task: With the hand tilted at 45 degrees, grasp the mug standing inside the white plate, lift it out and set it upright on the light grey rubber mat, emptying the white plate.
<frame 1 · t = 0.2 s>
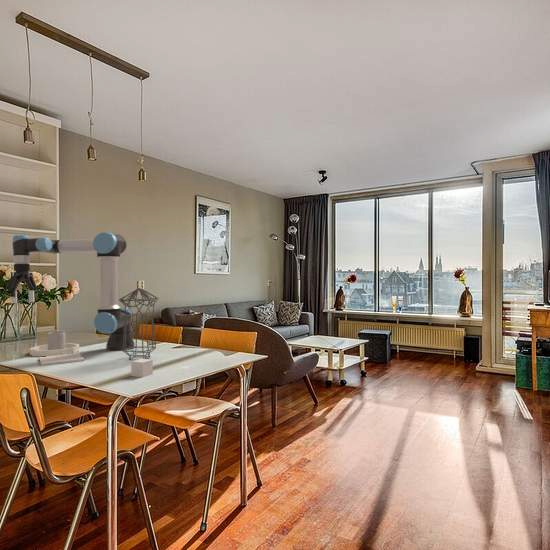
hand: (23, 302, 221), 27 cm above the table, tool pointing down, fingers open, 13 cm apart
geometric lantern: (140, 359, 202), on the table
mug: (55, 352, 221), resting in white plate
white plate: (55, 352, 221), on the table
mat: (61, 360, 200), on the table
pale pink cube: (142, 375, 168), on the table
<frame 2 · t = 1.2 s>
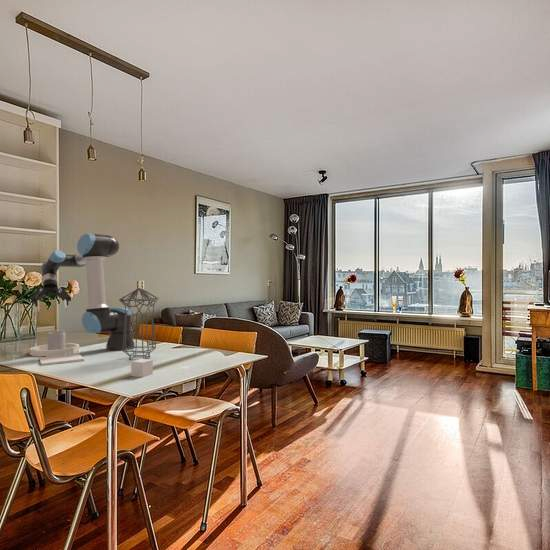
hand: (52, 309, 230), 22 cm above the table, tool tilted 45°, fingers open, 13 cm apart
nothing on the table moved.
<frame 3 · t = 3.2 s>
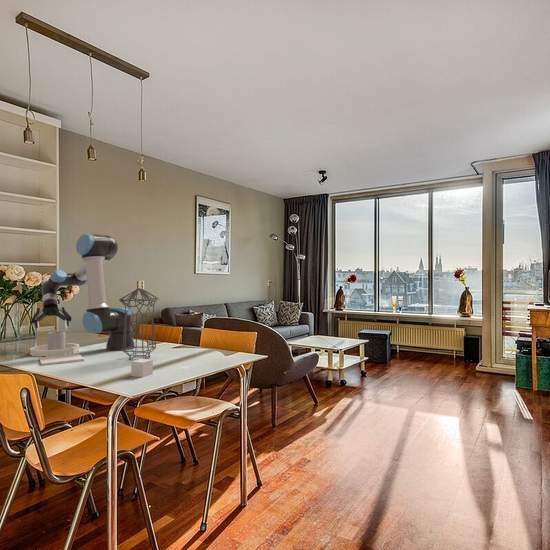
hand: (52, 331, 226), 11 cm above the table, tool tilted 45°, fingers open, 13 cm apart
nothing on the table moved.
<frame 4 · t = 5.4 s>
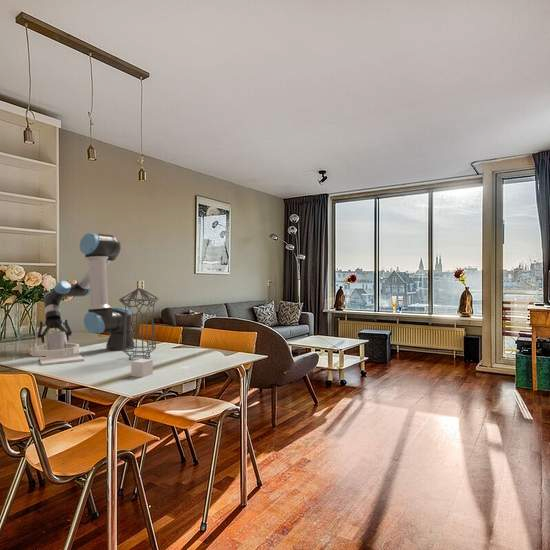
hand: (56, 346, 219), 4 cm above the table, tool tilted 45°, fingers open, 9 cm apart
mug: (54, 352, 221), resting in white plate, touching gripper
everything else where it was.
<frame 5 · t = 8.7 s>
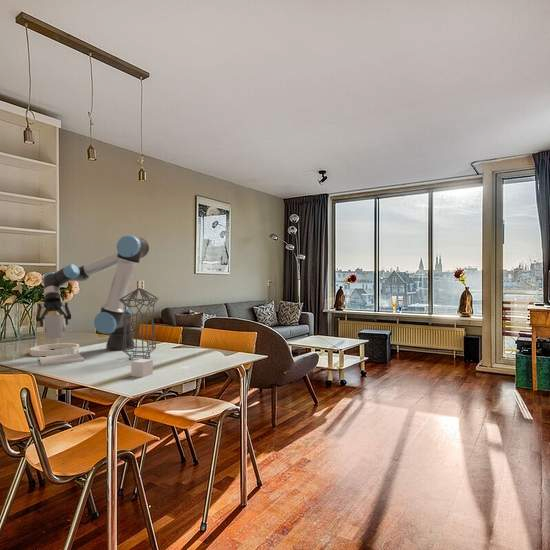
hand: (54, 330, 202), 14 cm above the table, tool tilted 45°, fingers closed on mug, 8 cm apart
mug: (53, 337, 205), point 11 cm above the table, touching gripper
everything else where it was.
when the fingers open (6 cm above the table, at t = 11.7 s): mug drops 1 cm, resting on mat.
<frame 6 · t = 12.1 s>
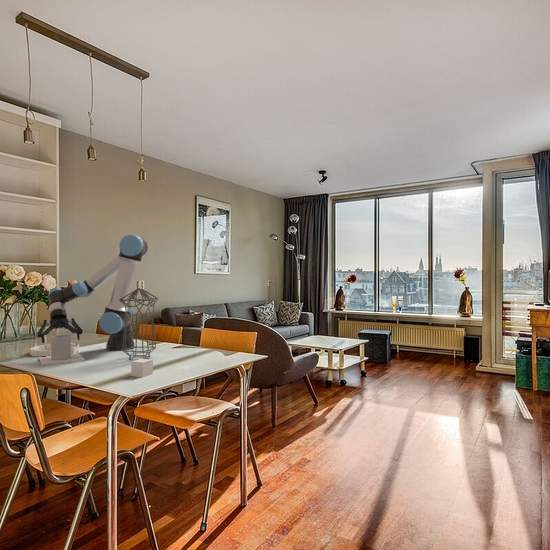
hand: (61, 346, 198), 7 cm above the table, tool tilted 45°, fingers open, 13 cm apart
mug: (59, 358, 199), point 1 cm above the table, touching mat
everything else where it was.
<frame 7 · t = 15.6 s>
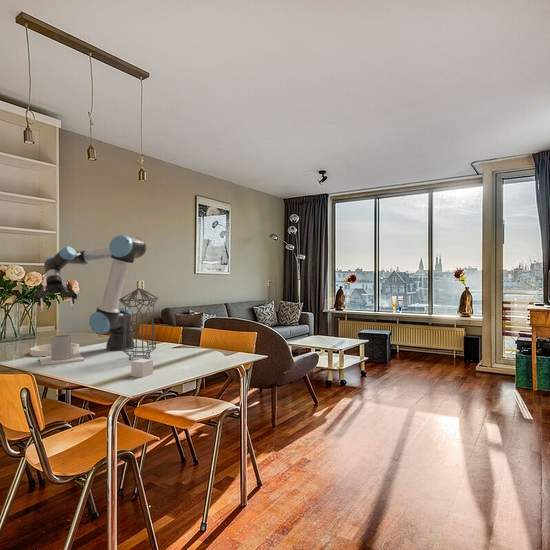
hand: (57, 308, 209), 25 cm above the table, tool tilted 45°, fingers open, 13 cm apart
nothing on the table moved.
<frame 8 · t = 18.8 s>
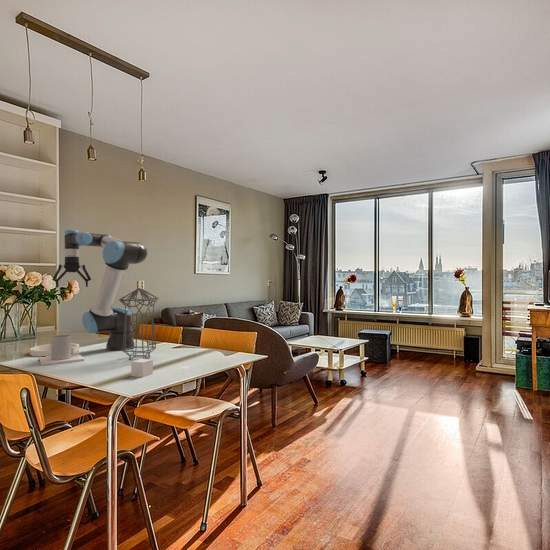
hand: (72, 292, 237), 32 cm above the table, tool pointing down, fingers open, 13 cm apart
nothing on the table moved.
at the end: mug inside the target area on the mat (0.7 cm from its centre), point 0.8 cm above the mat's base; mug tilted 0°; the gripper is holding nothing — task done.
